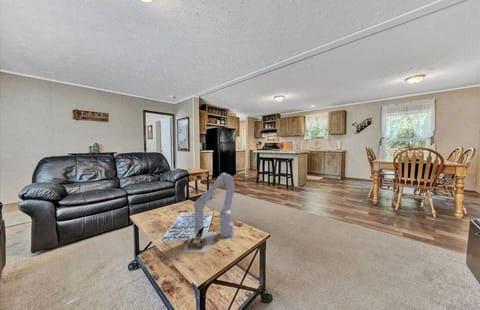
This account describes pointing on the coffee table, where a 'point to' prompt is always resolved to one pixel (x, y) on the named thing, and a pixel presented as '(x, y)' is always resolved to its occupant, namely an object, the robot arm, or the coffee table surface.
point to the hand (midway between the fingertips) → (199, 238)
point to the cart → (198, 239)
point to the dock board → (208, 242)
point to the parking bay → (196, 244)
